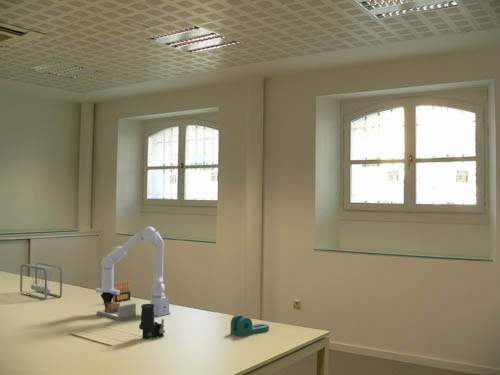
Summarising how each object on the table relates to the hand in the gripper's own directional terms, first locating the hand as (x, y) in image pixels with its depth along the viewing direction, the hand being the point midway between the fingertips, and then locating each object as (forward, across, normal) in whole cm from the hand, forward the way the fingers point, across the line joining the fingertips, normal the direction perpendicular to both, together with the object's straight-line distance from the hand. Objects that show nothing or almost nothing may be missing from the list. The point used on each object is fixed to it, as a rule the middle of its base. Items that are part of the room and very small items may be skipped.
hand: (107, 307), depth 267 cm
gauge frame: (+3, -7, +2) cm, 8 cm away
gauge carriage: (+1, -4, +2) cm, 4 cm away
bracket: (+3, -79, -5) cm, 80 cm away
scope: (+3, -46, +25) cm, 52 cm away
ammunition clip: (+3, +14, -27) cm, 30 cm away
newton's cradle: (+3, +66, -16) cm, 68 cm away
